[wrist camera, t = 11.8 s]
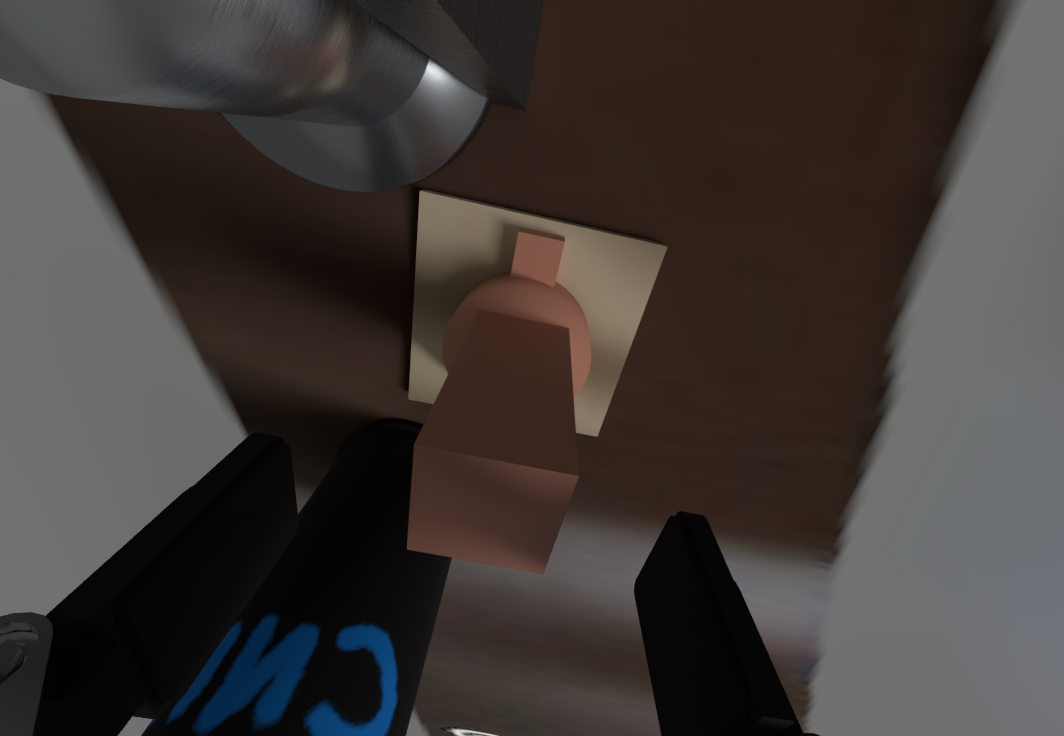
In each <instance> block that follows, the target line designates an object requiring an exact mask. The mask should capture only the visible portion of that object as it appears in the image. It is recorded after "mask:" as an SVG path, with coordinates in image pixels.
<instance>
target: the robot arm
mask: <svg viewBox="0 0 1064 736" xmlns="http://www.w3.org/2000/svg"><path fill="white" fill-rule="evenodd" d="M298 524H299V520H298V511H297V502H296V494H295V485H294V476H293V467H292V459H291V450H290V447H289V445H285V443H284V440H283V439H282V438H281V437H276V436H271V435H265V434H260V433H253V434H251V435H250V436H248V437H247V438H246V439H245V440H244V441H243V442H242V443H240V444H239V445H238V446H237V447H236V448H235V449H234V450H233V451H232V452H231V453H229V454H228V455H227V456H226V457H225V458H224V459H223V460H222V461H220V462H219V463H218V464H217V465H216V466H215V467H214V468H213V469H212V470H210V471H209V472H208V473H207V474H206V475H205V476H204V477H203V478H202V479H200V481H198V482H197V483H196V484H195V485H194V486H192V487H190V488H189V489H188V490H186V491H185V492H183V493H182V494H181V495H180V496H179V497H178V498H176V500H174V501H173V502H172V503H171V504H170V505H169V506H168V507H167V508H165V509H164V510H163V511H162V512H161V513H160V514H159V515H158V516H156V517H155V518H154V519H153V520H152V521H151V522H150V523H149V524H148V525H146V526H145V527H144V528H143V529H142V530H141V531H140V532H139V533H137V534H136V535H135V536H134V537H133V538H132V539H131V540H130V541H128V542H127V543H126V544H125V545H124V546H123V547H122V548H121V549H120V550H118V551H117V552H116V553H115V554H114V555H113V556H112V557H111V558H110V559H108V560H107V561H106V562H105V563H104V564H103V565H102V566H101V567H99V568H98V570H96V571H95V572H94V573H93V574H92V575H91V576H90V577H88V578H87V579H86V580H85V581H84V582H83V583H82V584H81V585H79V587H77V588H76V589H75V590H74V591H73V592H72V593H70V594H69V595H68V596H67V597H66V598H65V599H64V600H63V601H62V602H60V603H59V604H58V605H57V606H56V607H55V608H54V609H53V610H52V611H50V613H48V614H47V615H46V616H44V615H40V614H36V613H32V612H28V613H13V614H9V615H5V616H1V617H0V736H118V735H119V733H120V732H121V731H122V729H123V728H124V727H125V725H126V724H127V722H128V721H129V720H130V719H131V717H132V716H134V717H141V718H149V719H155V720H159V718H160V717H161V715H162V714H163V713H164V711H165V710H166V708H167V707H168V706H169V704H170V703H171V702H172V703H173V702H177V701H178V700H180V699H181V698H182V697H183V696H184V695H185V694H186V692H187V691H188V690H189V688H190V687H191V685H192V684H193V682H194V681H195V680H196V678H197V677H198V675H199V674H200V672H201V671H202V669H203V668H204V666H205V665H206V664H207V662H208V661H209V659H210V658H211V656H212V655H213V653H214V652H215V650H216V649H217V648H218V646H219V645H220V643H221V642H222V640H223V639H224V637H225V636H226V634H227V633H228V632H229V630H230V629H231V627H232V626H233V624H234V623H235V621H236V620H237V618H238V617H239V616H240V614H241V613H242V611H243V610H244V608H245V607H246V605H247V604H248V603H249V601H250V600H251V598H252V597H253V595H254V594H255V592H256V591H257V589H258V588H259V587H260V585H261V584H262V582H263V581H264V579H265V578H266V576H267V575H268V573H269V572H270V571H271V569H272V568H273V566H274V565H275V563H276V562H277V560H278V559H279V557H280V556H281V555H282V553H283V552H284V550H285V549H286V547H287V546H288V544H289V543H290V541H291V540H292V539H293V537H294V535H295V533H296V531H297V528H298ZM634 594H635V600H636V606H637V611H638V616H639V621H640V626H641V631H642V637H643V642H644V647H645V652H646V657H647V663H648V668H649V673H650V678H651V683H652V689H653V694H654V699H655V704H656V709H657V714H658V720H659V725H660V730H661V735H662V736H820V735H817V734H815V733H803V731H802V729H801V727H800V725H799V722H798V720H797V718H796V716H795V713H794V711H793V709H792V707H791V704H790V702H789V700H788V698H787V695H786V693H785V691H784V688H783V686H782V684H781V682H780V679H779V677H778V675H777V673H776V670H775V668H774V666H773V664H772V661H771V659H770V657H769V655H768V652H767V650H766V648H765V645H764V643H763V641H762V639H761V636H760V634H759V632H758V630H757V627H756V625H755V623H754V621H753V618H752V616H751V614H750V612H749V609H748V607H747V605H746V602H745V600H744V598H743V596H742V593H741V591H740V589H739V587H738V586H737V584H736V582H735V581H734V580H733V578H732V576H731V573H730V571H729V569H728V566H727V564H726V562H725V560H724V557H723V555H722V553H721V550H720V548H719V546H718V544H717V541H716V539H715V537H714V534H713V532H712V530H711V528H710V525H709V523H708V521H707V519H706V518H705V517H704V516H703V515H698V514H693V513H687V512H682V511H679V512H678V513H677V514H676V515H675V516H670V517H669V519H668V521H667V522H666V524H665V526H664V528H663V530H662V532H661V534H660V536H659V537H658V539H657V541H656V543H655V545H654V547H653V549H652V551H651V552H650V554H649V556H648V558H647V560H646V562H645V564H644V566H643V567H642V569H641V571H640V573H639V575H638V577H637V579H636V581H635V586H634Z"/></svg>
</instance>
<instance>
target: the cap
mask: <svg viewBox="0 0 1064 736" xmlns="http://www.w3.org/2000/svg"><path fill="white" fill-rule="evenodd" d="M564 244H565V237H564V236H560V235H555V234H551V233H546V232H542V231H538V230H533V229H529V228H524V227H520V229H519V231H518V236H517V242H516V248H515V253H514V259H513V264H512V270H511V272H504V273H500V274H496V275H494V276H491V277H489V278H487V279H485V280H483V281H481V282H480V283H478V284H477V285H476V286H474V287H473V288H472V289H471V290H470V291H469V292H468V293H467V294H466V296H465V297H464V299H463V300H462V301H461V303H460V305H459V306H458V308H457V309H456V311H455V313H454V314H453V316H452V317H451V319H450V321H449V323H448V325H447V327H446V330H445V333H444V338H443V349H442V352H443V360H444V364H445V368H446V370H447V373H448V375H447V377H446V379H445V382H444V384H443V386H442V388H441V390H440V392H439V394H438V396H437V398H436V400H435V402H434V404H433V406H432V408H431V410H430V412H429V414H428V417H427V419H426V421H425V423H424V425H423V427H422V429H421V431H420V433H419V435H418V437H417V439H416V441H415V443H414V452H413V466H412V481H411V495H410V510H409V525H408V539H407V550H413V551H419V552H424V553H430V554H435V555H441V556H446V557H452V558H457V559H463V560H469V561H474V562H480V563H485V564H491V565H496V566H502V567H507V568H513V569H519V570H524V571H530V572H535V573H541V574H543V573H544V570H545V568H546V565H547V562H548V560H549V557H550V554H551V551H552V549H553V546H554V543H555V540H556V538H557V535H558V532H559V529H560V527H561V524H562V521H563V518H564V516H565V513H566V510H567V507H568V505H569V502H570V499H571V496H572V494H573V491H574V488H575V485H576V483H577V480H578V477H579V471H578V456H577V441H576V425H575V410H574V397H575V396H576V395H577V393H578V392H579V391H580V389H581V388H582V386H583V385H584V383H585V381H586V379H587V376H588V374H589V370H590V366H591V357H592V355H591V344H590V338H589V332H588V327H587V322H586V318H585V315H584V313H583V310H582V308H581V307H580V305H579V303H578V302H577V300H576V299H575V298H574V296H573V295H572V294H571V293H570V292H569V291H568V290H567V289H566V288H564V287H563V286H562V285H561V284H559V283H557V282H556V277H557V273H558V269H559V264H560V260H561V256H562V252H563V248H564Z"/></svg>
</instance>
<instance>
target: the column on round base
mask: <svg viewBox="0 0 1064 736" xmlns="http://www.w3.org/2000/svg"><path fill="white" fill-rule="evenodd" d="M543 3H544V0H0V78H1V79H3V80H6V81H8V82H10V83H13V84H16V85H19V86H23V87H26V88H30V89H33V90H36V91H40V92H43V93H49V94H55V95H62V96H68V97H75V98H84V99H94V100H103V101H113V102H122V103H131V104H141V105H150V106H160V107H169V108H178V109H188V110H197V111H207V112H216V113H221V114H222V115H223V116H224V117H225V118H226V119H227V121H228V122H229V123H230V124H231V125H232V126H233V127H234V128H235V129H236V130H237V131H238V132H239V133H240V134H241V135H242V136H243V137H244V138H245V139H246V140H248V141H249V142H250V143H251V144H252V145H253V146H254V147H256V148H257V149H258V150H259V151H261V152H262V153H263V154H265V155H266V156H267V157H269V158H270V159H272V160H273V161H274V162H276V163H277V164H279V165H281V166H282V167H284V168H286V169H288V170H289V171H291V172H293V173H295V174H296V175H299V176H301V177H303V178H306V179H308V180H310V181H312V182H315V183H318V184H321V185H325V186H328V187H331V188H335V189H341V190H348V191H354V192H374V191H381V190H388V189H394V188H398V187H402V186H405V185H409V184H412V183H415V182H418V181H421V180H423V179H425V178H427V177H429V176H431V175H433V174H435V173H436V172H438V171H439V170H440V169H442V168H443V167H445V166H446V165H448V164H449V163H450V162H451V161H452V160H453V159H454V158H455V157H456V156H458V155H459V154H460V153H461V152H462V151H463V150H464V148H465V147H466V146H467V145H468V143H469V142H470V141H471V140H472V138H473V137H474V136H475V134H476V133H477V131H478V129H479V127H480V126H481V124H482V122H483V121H484V119H485V117H486V115H487V113H488V111H489V108H490V106H491V104H492V102H493V103H498V104H502V105H506V106H510V107H514V108H519V109H523V110H526V107H527V101H528V95H529V89H530V83H531V77H532V70H533V64H534V58H535V52H536V46H537V40H538V34H539V28H540V22H541V15H542V9H543Z"/></svg>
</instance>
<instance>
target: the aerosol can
mask: <svg viewBox="0 0 1064 736" xmlns="http://www.w3.org/2000/svg"><path fill="white" fill-rule="evenodd" d="M422 427H423V426H421V425H417V424H413V423H409V422H400V421H383V422H377V423H373V424H368V425H366V426H364V427H362V428H360V429H357V430H356V431H354V432H353V433H352V434H351V435H349V436H348V437H347V438H346V439H345V441H344V442H343V444H342V445H341V447H340V449H339V452H338V455H337V460H336V462H335V463H334V465H333V466H332V467H331V469H330V470H329V472H328V473H327V474H326V476H325V477H324V479H323V480H322V482H321V483H320V484H319V486H318V487H317V489H316V490H315V491H314V493H313V494H312V496H311V497H310V498H309V500H308V501H307V503H306V504H305V505H304V507H303V508H302V510H301V511H300V513H299V514H298V520H299V524H298V528H297V531H296V533H295V535H294V537H293V539H292V540H291V541H290V543H289V544H288V546H287V547H286V549H285V550H284V552H283V553H282V555H281V556H280V557H279V559H278V560H277V562H276V563H275V565H274V566H273V568H272V569H271V571H270V572H269V573H268V575H267V576H266V578H265V579H264V581H263V582H262V584H261V585H260V587H259V588H258V589H257V591H256V592H255V594H254V595H253V597H252V598H251V600H250V601H249V603H248V604H247V605H246V607H245V608H244V610H243V611H242V613H241V614H240V616H239V617H238V618H237V620H236V621H235V623H234V624H233V626H232V627H231V629H230V630H229V632H228V633H227V634H226V636H225V637H224V639H223V640H222V642H221V643H220V645H219V646H218V648H217V649H216V650H215V652H214V653H213V655H212V656H211V658H210V659H209V661H208V662H207V664H206V665H205V666H204V668H203V669H202V671H201V672H200V674H199V675H198V677H197V678H196V680H195V681H194V682H193V684H192V685H191V687H190V688H189V690H188V691H187V692H186V694H185V695H184V696H183V697H182V698H181V699H180V700H178V701H177V702H173V703H172V702H171V703H170V704H169V706H168V707H167V708H166V710H165V711H164V713H163V714H162V715H161V717H160V718H159V720H155V719H153V720H152V721H151V723H150V724H149V726H148V727H147V728H146V730H145V731H144V733H143V734H142V735H141V736H406V733H407V729H408V724H409V721H410V717H411V713H412V709H413V706H414V702H415V698H416V694H417V690H418V686H419V682H420V678H421V675H422V671H423V667H424V663H425V659H426V655H427V651H428V648H429V644H430V640H431V636H432V632H433V628H434V624H435V620H436V617H437V613H438V609H439V605H440V601H441V597H442V593H443V590H444V586H445V582H446V578H447V574H448V570H449V566H450V562H451V559H452V557H446V556H441V555H435V554H430V553H424V552H419V551H413V550H407V539H408V525H409V510H410V495H411V481H412V466H413V452H414V443H415V441H416V439H417V437H418V435H419V433H420V431H421V429H422Z"/></svg>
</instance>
